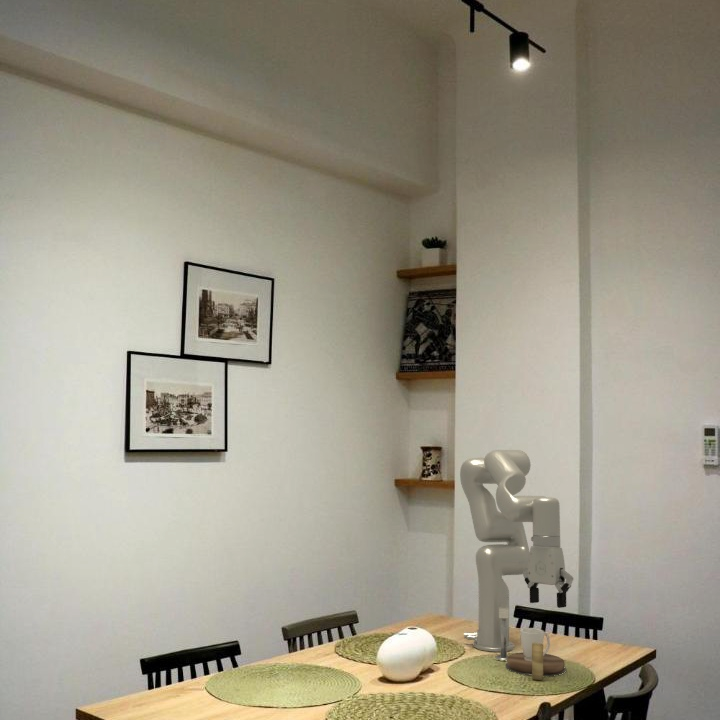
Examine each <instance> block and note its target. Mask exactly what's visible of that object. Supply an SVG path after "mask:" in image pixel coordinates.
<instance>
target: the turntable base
mask: <svg viewBox="0 0 720 720" xmlns="http://www.w3.org/2000/svg"><path fill="white" fill-rule="evenodd" d="M505 668H506V670H508V669H509V670H508V671H510V670H511V671H510V672H512V671H513V672H512V673H514V672H516V673H515V674H518V673H519V674H518V675H522V674H525V675H524V676H528V675H532V674H531V673H524V672H520V671H516V670H513V669H511V668H509V667H508V665H507V662H505ZM565 671H566V672H567V667H565V668H564V671H562V672H560V673H555V674H543V676H549V677H555V676H554V675H558V676H560V675H559V674H562V673H564V672H565ZM566 672H565V673H566ZM565 673H564V674H565ZM562 675H563V674H562Z"/></svg>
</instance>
